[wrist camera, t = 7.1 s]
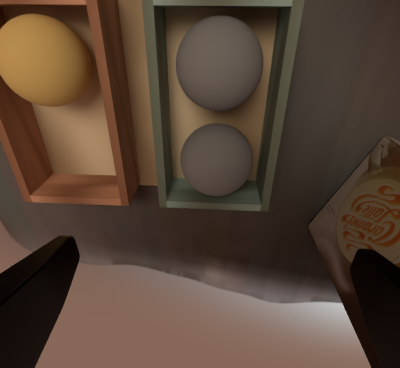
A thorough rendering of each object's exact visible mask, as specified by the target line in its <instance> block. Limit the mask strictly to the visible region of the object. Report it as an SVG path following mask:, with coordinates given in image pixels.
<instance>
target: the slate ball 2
mask: <svg viewBox="0 0 400 368" xmlns="http://www.w3.org/2000/svg"><path fill="white" fill-rule="evenodd" d="M180 164H181V169H182V172H183V175H184V177H185V178H186V180H187V182H188V183H189V184H190V185H191V186H192V187H193V188H194V189H196V190H197V191H199V192H201V193H203V194H206V195H210V196H223V195H227V194H230V193H232V192H234V191H236V190H237V189H239V188H240V187H241V186H242V185H243V184H244V183H245V182H246V180H247V179H248V177H249V175H250V173H251V170H252V166H253V153H252V149H251V146H250V144H249V142H248V140H247V138H246V137H245V136H244V135H243V134H242V133H241V132H240V131H239V130H237V129H236V128H234V127H232V126H230V125H227V124H222V123H212V124H207V125H204V126H202V127H199V128H198V129H196V130H195V131H194V132H192V133H191V134H190V136H189V137H188V138H187V139H186V141H185V143H184V145H183V147H182V150H181V156H180Z"/></svg>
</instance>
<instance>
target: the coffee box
mask: <svg viewBox="0 0 400 368" xmlns="http://www.w3.org/2000/svg"><path fill="white" fill-rule="evenodd" d="M308 227H309V230H310V232H311V234H312V236H313V239H314V241H315V243H316V245H317V248H318V250H319V252H320V254H321V256H322V259H323V261H324V263H325V265H326V268H327V270H328V271H329V274H330V276H331V279H332V281H333V283H334V285H335V287H336V290H337V292H338V294H339V296H340V299H341V301H342V303H343V305H344V308H345V310H346V312H347V315H348V316H349V319H350V321H351V323H352V325H353V328H354V330H355V332H356V334H357V336H358V339H359V341H360V343H361V345H362V348H363V350H364V352H365V354H366V356H367V358H368V361H369V363H370V366H371V368H382V365H381V363H380V360H379V358H378V355H377V353H376V351H375V348H374V346H373V343H372V341H371V338H370V336H369V333H368V331H367V328H366V325H365V323H364V320H363V317H362V314H361V310H360V307H359V303H358V300H357V296H356V293H355V289H354V286H353V282H352V279H351V275H350V265H351V263H352V261H353V258H354V256H355V254H356V251H357V250H358V249H360V248H365V249H374V250H375V251H377V252H378V253H380V254H381V255H382V256H384V257H385V258H387V259H388V260H389V261H391V262H392V263H394V264H395V265H396V266H398V267H399V268H400V141H398V140H396V139H394V138H392V137H389V136H385V137H383V138H382V139H381V141H380V142H379V143H378V144H377V145H376V146H375V147H374V149H373V150H372V151H371V152H370V153H369V155H368V156H367V157H366V158H365V159H364V160H363V162H362V163H361V164H360V165H359V166H358V167H357V169H356V170H355V171H354V172H353V173H352V174H351V176H350V177H349V178H348V179H347V180H346V182H345V183H344V184H343V185H342V186H341V187H340V189H339V190H338V191H337V192H336V193H335V194H334V196H333V197H332V198H331V199H330V200H329V201H328V203H327V204H326V205H325V206H324V207H323V209H322V210H321V211H320V212H319V213H318V214H317V216H316V217H315V218H314V219H313V220H312V222H311V223H310V224H309V225H308Z"/></svg>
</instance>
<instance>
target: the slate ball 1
mask: <svg viewBox="0 0 400 368" xmlns="http://www.w3.org/2000/svg"><path fill="white" fill-rule="evenodd" d="M263 62H264V61H263V52H262V48H261V45H260V42H259V40H258V38H257V36H256V35H255V33H254V32H253V31H252V30H251V28H250V27H249V26H247V25H246V24H245V23H244V22H242V21H240V20H239V19H236V18H234V17H230V16H224V15H218V16H211V17H208V18H205V19H203V20H201V21H199V22H197V23H196V24H195V25H193V26H192V27H191V28H190V29H189V30H188V31H187V33H186V34H185V35H184V37H183V39H182V41H181V43H180V45H179V47H178V51H177V55H176V74H177V78H178V81H179V84H180V86H181V88H182V90H183V91H184V93H185V94H186V96H187V97H188V98H189V99H190V100H191V101H192V102H194V103H195V104H197V105H198V106H200V107H202V108H205V109H208V110H213V111H224V110H229V109H232V108H235V107H237V106H239V105H240V104H242V103H243V102H245V101H246V100H247V99H248V98H249V97H250V96H251V95H252V94H253V92H254V91H255V89H256V88H257V86H258V84H259V81H260V79H261V76H262V71H263Z"/></svg>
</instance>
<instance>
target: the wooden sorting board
mask: <svg viewBox="0 0 400 368" xmlns="http://www.w3.org/2000/svg"><path fill="white" fill-rule="evenodd" d="M304 1H305V0H0V29H1V28H2V27H3V26H4V25H5V24H6V23H7V22H8V21H9V20H11V19H13V18H15V17H17V16H20V15H24V14H33V13H34V14H43V15H47V16H50V17H53V18H55V19H58V20H60V21H61V22H63V23H65V24H66V25H68V26H69V27H70V28H71V29H72V30H73V31H75V32H76V34H77V35H78V36H79V37H80V38H81V40H82V41H83V43H84V44H85V46H86V48H87V50H88V53H89V55H90V59H91V65H92V73H91V79H90V83H89V85H88V87H87V89H86V90H85V92H84V93H83V94H82V96H80V97H79V98H78V99H77V100H75V101H74V102H72V103H69V104H67V105H63V106H58V107H49V106H41V105H38V104H35V103H32V102H29V101H27V100H25V99H24V98H22V97H21V96H19V95H18V94H16V93H15V92H14V91H13V90H12V89H11V88H10V87H9V86H8V85H7V84H6V83H5V81H4V80H3V78H2V77H1V75H0V140H1V143H2V145H3V148H4V150H5V153H6V155H7V158H8V160H9V163H10V165H11V168H12V170H13V173H14V175H15V178H16V180H17V183H18V185H19V188H20V190H21V193H22V195H23V198H24V200H25V202H45V203H70V204H94V205H119V206H129V205H130V203H131V201H132V198H133V196H134V194H135V192H136V190H137V188H138V186H139V185H153V186H158V197H159V207H168V208H193V209H218V210H242V211H267V212H268V209H269V203H270V197H271V192H272V186H273V180H274V174H275V168H276V163H277V157H278V151H279V145H280V140H281V134H282V128H283V122H284V116H285V111H286V105H287V99H288V93H289V87H290V82H291V76H292V70H293V64H294V58H295V53H296V47H297V41H298V35H299V30H300V24H301V18H302V12H303V6H304ZM218 15H224V16H230V17H234V18H236V19H239V20H240V21H242V22H244V23H245V24H246V25H247V26H249V27H250V28H251V30H252V31H253V32H254V33H255V35H256V36H257V38H258V40H259V42H260V45H261V48H262V52H263V61H264V62H263V71H262V76H261V79H260V81H259V84H258V86H257V88H256V89H255V91H254V92H253V94H252V95H251V96H250V97H249V98H248V99H247V100H246V101H245V102H243V103H242V104H240V105H239V106H237V107H235V108H232V109H229V110H224V111H213V110H208V109H205V108H202V107H200V106H198V105H197V104H195V103H194V102H192V101H191V100H190V99H189V98H188V97H187V96H186V94H185V93H184V91H183V90H182V88H181V86H180V84H179V81H178V78H177V74H176V55H177V51H178V47H179V45H180V43H181V41H182V39H183V37H184V35H185V34H186V33H187V31H188V30H189V29H190V28H191V27H192V26H193V25H195V24H196V23H197V22H199V21H201V20H203V19H205V18H208V17H211V16H218ZM212 123H222V124H227V125H230V126H232V127H234V128H236V129H237V130H239V131H240V132H241V133H242V134H243V135H244V136H245V137H246V138H247V140H248V142H249V144H250V146H251V149H252V153H253V166H252V170H251V173H250V175H249V177H248V179H247V180H246V182H245V183H244V184H243V185H242V186H241V187H240V188H239V189H237V190H236V191H234V192H232V193H230V194H227V195H223V196H210V195H206V194H203V193H201V192H199V191H197V190H196V189H194V188H193V187H192V186H191V185H190V184H189V183H188V182H187V180H186V178H185V177H184V175H183V172H182V169H181V164H180V156H181V150H182V147H183V145H184V143H185V141H186V139H187V138H188V137H189V136H190V134H191V133H192V132H194V131H195V130H196V129H198V128H199V127H202V126H204V125H207V124H212Z"/></svg>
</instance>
